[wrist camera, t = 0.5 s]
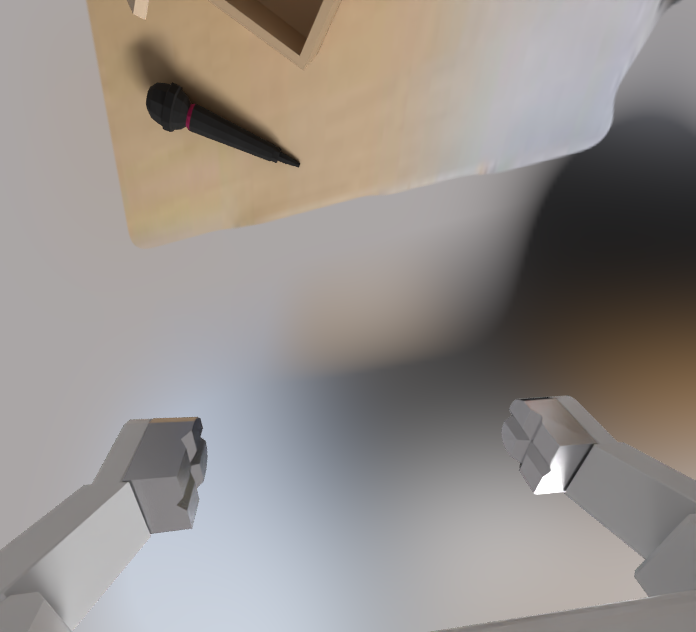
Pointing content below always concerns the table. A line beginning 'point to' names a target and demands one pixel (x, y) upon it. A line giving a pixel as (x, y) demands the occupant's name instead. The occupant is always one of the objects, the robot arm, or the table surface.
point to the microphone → (206, 123)
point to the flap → (139, 7)
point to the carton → (285, 24)
